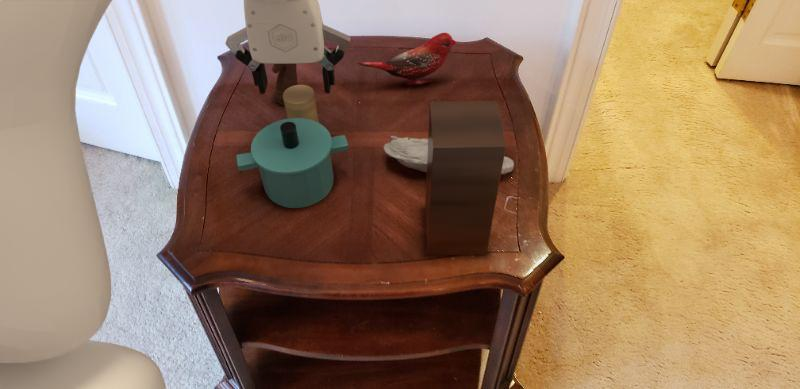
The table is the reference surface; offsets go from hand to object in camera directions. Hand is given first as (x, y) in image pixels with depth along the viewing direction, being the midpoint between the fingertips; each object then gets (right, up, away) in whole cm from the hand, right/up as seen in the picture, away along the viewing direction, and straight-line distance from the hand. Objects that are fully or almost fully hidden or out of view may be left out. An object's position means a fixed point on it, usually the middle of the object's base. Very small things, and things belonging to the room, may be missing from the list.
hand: (296, 88), depth 83 cm
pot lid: (0, -9, -4) cm, 10 cm away
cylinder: (0, -7, +8) cm, 11 cm away
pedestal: (+23, -21, -5) cm, 32 cm away
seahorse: (+23, -12, +4) cm, 26 cm away
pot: (0, -14, +1) cm, 14 cm away
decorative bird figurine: (+17, +4, +18) cm, 25 cm away
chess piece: (-4, +1, +16) cm, 16 cm away
